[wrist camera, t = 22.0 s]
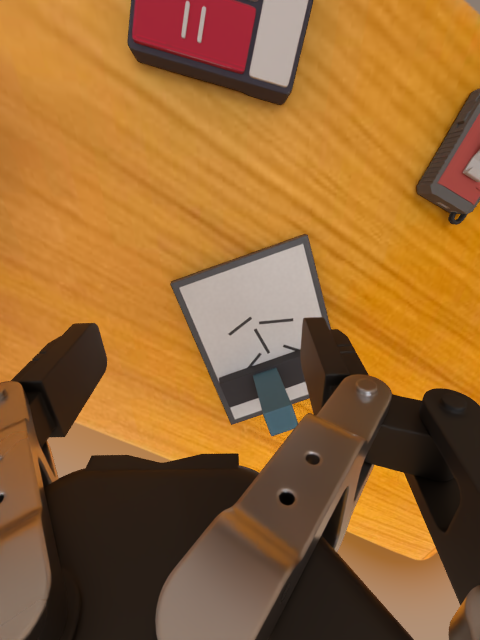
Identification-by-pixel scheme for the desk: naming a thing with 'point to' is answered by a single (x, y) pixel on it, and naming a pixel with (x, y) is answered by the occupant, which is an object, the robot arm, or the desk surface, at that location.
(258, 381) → the eraser
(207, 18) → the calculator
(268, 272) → the whiteboard
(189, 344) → the desk surface
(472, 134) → the walkie-talkie
